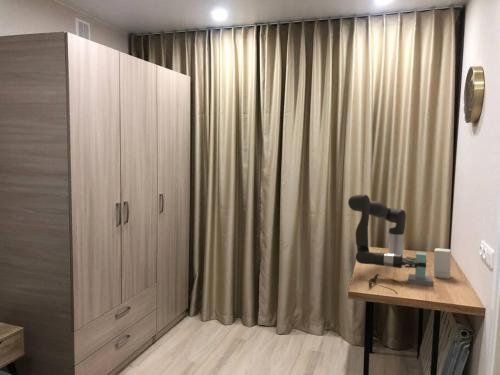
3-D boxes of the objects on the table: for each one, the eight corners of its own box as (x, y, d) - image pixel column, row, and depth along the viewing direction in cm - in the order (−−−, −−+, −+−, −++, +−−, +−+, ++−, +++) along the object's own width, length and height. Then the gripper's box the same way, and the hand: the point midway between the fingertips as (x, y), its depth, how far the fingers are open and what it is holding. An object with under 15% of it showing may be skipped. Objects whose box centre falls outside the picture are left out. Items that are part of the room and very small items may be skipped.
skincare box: (450, 276, 231) (451, 249, 229) (449, 279, 225) (450, 251, 224) (434, 273, 235) (435, 247, 234) (433, 277, 229) (434, 250, 228)
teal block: (415, 273, 224) (416, 252, 223) (425, 274, 222) (426, 253, 221) (415, 275, 219) (416, 254, 218) (425, 277, 217) (426, 255, 216)
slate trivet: (408, 277, 228) (409, 273, 228) (432, 280, 223) (432, 276, 223) (407, 283, 219) (408, 278, 219) (432, 286, 214) (432, 281, 214)
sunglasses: (376, 282, 222) (377, 273, 222) (404, 289, 214) (405, 280, 213) (367, 289, 211) (368, 280, 210) (397, 297, 202) (398, 288, 202)
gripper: (392, 257, 219) (426, 260, 212) (394, 250, 232) (426, 254, 225) (391, 270, 220) (425, 274, 213) (393, 263, 233) (426, 267, 226)
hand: (426, 264), depth 219 cm, fingers closed on teal block, 5 cm apart
